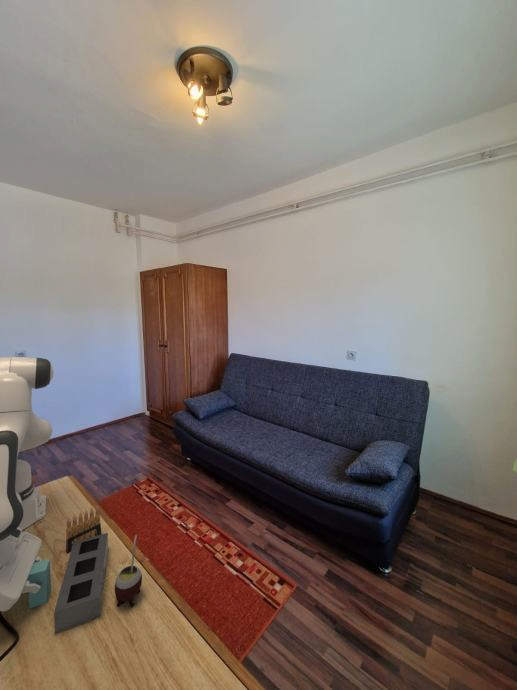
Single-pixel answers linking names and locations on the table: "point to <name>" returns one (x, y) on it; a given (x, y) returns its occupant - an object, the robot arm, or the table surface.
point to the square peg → (42, 575)
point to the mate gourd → (128, 582)
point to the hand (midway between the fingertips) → (42, 579)
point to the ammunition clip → (83, 528)
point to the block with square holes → (82, 583)
